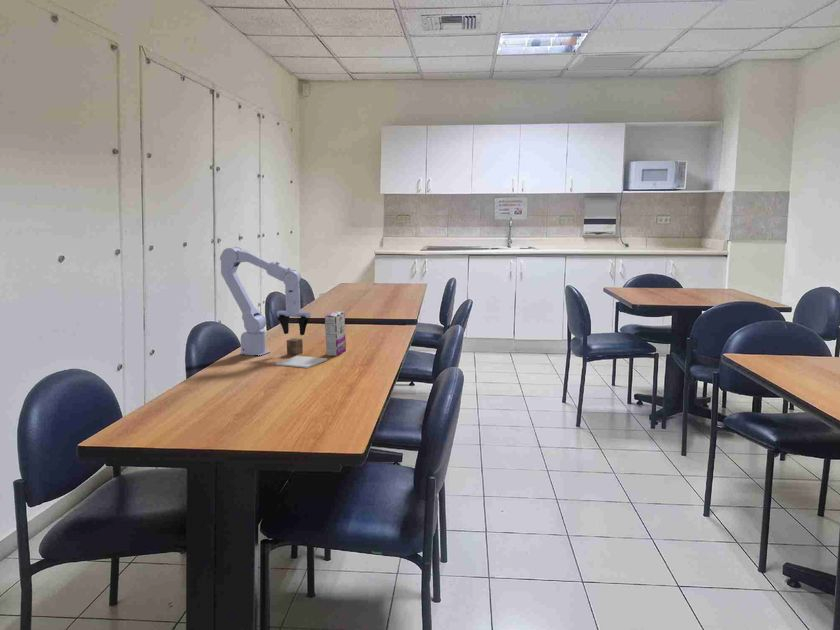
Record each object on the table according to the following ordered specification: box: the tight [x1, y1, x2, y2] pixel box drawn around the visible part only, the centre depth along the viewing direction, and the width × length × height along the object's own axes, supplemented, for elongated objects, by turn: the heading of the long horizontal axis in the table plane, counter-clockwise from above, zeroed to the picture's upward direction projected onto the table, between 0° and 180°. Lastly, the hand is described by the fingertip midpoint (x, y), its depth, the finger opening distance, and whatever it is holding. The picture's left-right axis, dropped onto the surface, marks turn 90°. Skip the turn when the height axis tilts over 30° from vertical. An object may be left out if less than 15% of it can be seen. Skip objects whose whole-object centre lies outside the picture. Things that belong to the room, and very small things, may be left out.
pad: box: [275, 355, 328, 369], centre depth 242 cm, size 14×14×1 cm
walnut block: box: [286, 337, 304, 356], centre depth 257 cm, size 4×4×6 cm
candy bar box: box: [324, 311, 347, 357], centre depth 257 cm, size 11×5×16 cm, turn 168°
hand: (294, 334), depth 256 cm, fingers open, 7 cm apart
